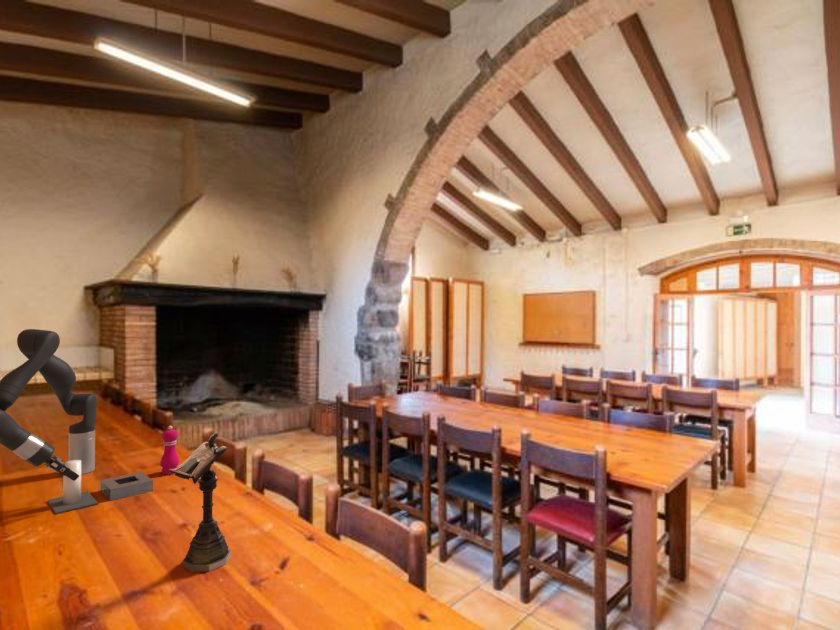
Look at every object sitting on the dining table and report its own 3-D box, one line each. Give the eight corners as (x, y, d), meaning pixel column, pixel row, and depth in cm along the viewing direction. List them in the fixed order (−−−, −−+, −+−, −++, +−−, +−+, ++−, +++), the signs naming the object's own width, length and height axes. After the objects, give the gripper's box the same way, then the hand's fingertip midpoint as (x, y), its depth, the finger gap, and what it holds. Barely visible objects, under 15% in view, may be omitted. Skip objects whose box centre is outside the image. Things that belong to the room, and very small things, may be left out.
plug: (61, 501, 170) (61, 462, 170) (79, 497, 174) (79, 458, 174) (64, 505, 167) (64, 465, 167) (82, 501, 170) (82, 462, 170)
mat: (47, 501, 171) (47, 499, 171) (87, 492, 180) (87, 491, 180) (55, 514, 160) (55, 512, 160) (98, 504, 169) (98, 502, 169)
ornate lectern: (182, 587, 118) (183, 445, 118) (157, 570, 125) (158, 437, 126) (242, 560, 131) (243, 432, 131) (216, 546, 139) (217, 426, 139)
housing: (100, 490, 182) (100, 480, 182) (141, 481, 192) (141, 471, 192) (110, 500, 173) (110, 489, 173) (152, 490, 183) (152, 480, 183)
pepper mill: (171, 475, 199) (171, 428, 200) (156, 474, 201) (156, 427, 201) (183, 470, 207) (183, 424, 207) (168, 469, 208) (168, 423, 208)
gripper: (47, 444, 159) (87, 470, 167) (40, 436, 169) (78, 462, 177) (26, 463, 155) (69, 489, 164) (20, 454, 165) (61, 479, 173)
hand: (74, 475), depth 170 cm, fingers open, 8 cm apart
